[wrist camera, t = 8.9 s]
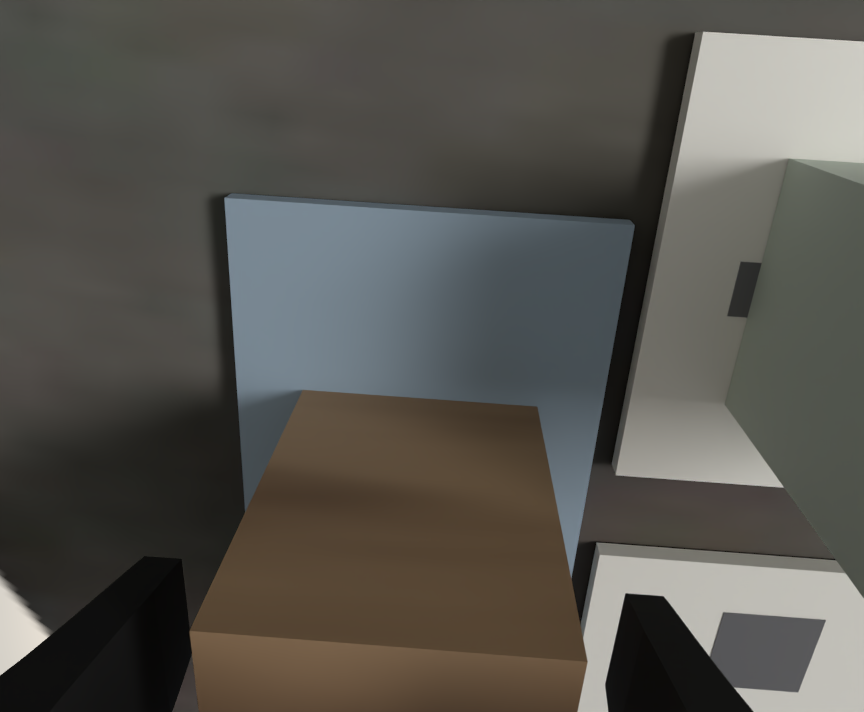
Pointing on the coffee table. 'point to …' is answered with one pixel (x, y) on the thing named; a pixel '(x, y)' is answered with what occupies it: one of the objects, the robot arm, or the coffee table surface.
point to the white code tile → (739, 622)
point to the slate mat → (426, 317)
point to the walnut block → (395, 568)
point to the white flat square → (726, 240)
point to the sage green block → (811, 354)
